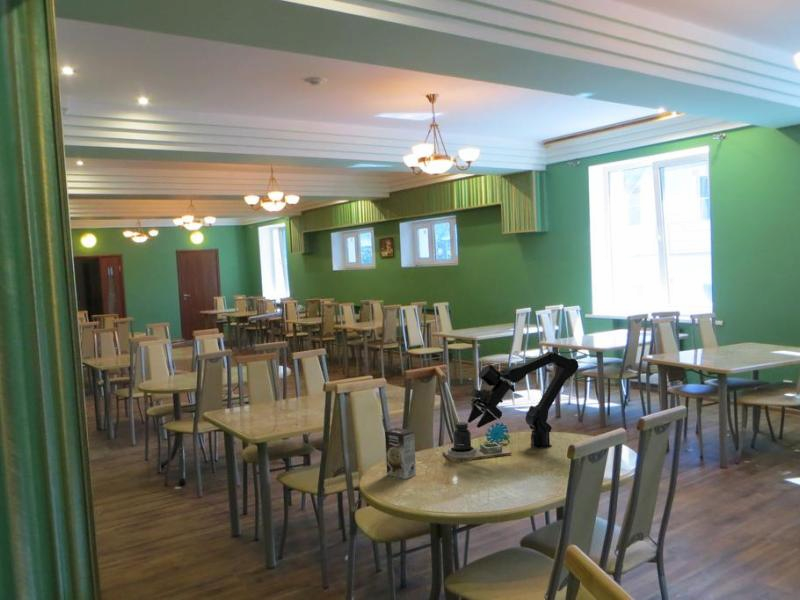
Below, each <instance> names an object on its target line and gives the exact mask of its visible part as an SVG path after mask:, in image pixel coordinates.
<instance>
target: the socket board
mask: <svg viewBox="0 0 800 600" xmlns="http://www.w3.org/2000/svg"><path fill="white" fill-rule="evenodd" d="M494 442H495V441H494ZM494 442H493V443H490V442H487V443H480V444H479V447H475V446H473V445H471V451H468V452H455V451H454V446H450V447H448V449H447V451H442V455H443V454H444V455H445V456H444V455H443V456H444V457H445V458H447V459H448V458H449V459H450V461H451V462H452V463H457V462H456V461H460V462H464V461H463V460H468V461H471V460H470V459H476V460H480V459H479V458H484V459H489V458H488V457H491V458H496V457H495V456H499V457H504V456H503V455H507V456H512V455H511V454H512V451H510V450H508V449H507V448H506V447H504V446H502V445H500V444H497V443H496V442H495V443H494ZM449 459H448V460H449Z"/></svg>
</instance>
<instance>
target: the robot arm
mask: <svg viewBox="0 0 800 600" xmlns="http://www.w3.org/2000/svg"><path fill="white" fill-rule="evenodd" d="M550 364H553V365H555V366H556V367H555V374H554V376H553V378H552V380H551V382H550V383H549V385H548V386H547V388H546V389H545V392H544V393H543V395H542V397H541V398H540V400H539V402H538V403H537V404H536V405H535V406H533V405H530V407H529V409H528V410H527V411H526V412H525V418H524V419H525V422H526V423H525V424H527V425H528V426H529V428H530V430H531V434H530V445H531V446H532V447H534V448H537V449H540V448H541V449H543V448H549V447H553V445H552V444H550V433H551V432H552V426H551V425H550V424H549V423H548V418H549V410H550V408H551V407H552V405H553V404H554V401H555V400H556V398H557V396H558V395H559V393H560V391H561V390H562V389H563V386H564V385H565V383H566V382H567V381H568V380H569V379H570V378H572V377H573V376H574V374H575V373H576V372H577V371H578V369H579V367H580V366H579V362H578V361H577V359H575V358H571V357H569V356H568V357H567V356H562V355H561V354H557V353H556V352H554V351H550V350H549V351H546V352H544V353H543V354H541V355H539V356H537V357H535V358H532V359H530V360H528V361H526V362H523V363H520V364H514V365H510V366H507V367H504V369H502V370H499V371H498V370H497V369H496V368H495V367H494V366H493V365H492V364H488V365H487V366H485V367H484V368H482V369H480V371H479V373H478V378H479V379H480V380H481V381H483V382H484V383H485V384H486V386H488V387H491V386H492V388H491V389H490V390H489V389H488V390H487V389H483V388H482V389H480V390H479V389H477V388H472V391H471V394H470V396H471V397H472V398H471V400H469V401H470V405H471V411H470V413H469V416H468V419H467V422H466V423H468V424H470V423H472V422H474V421H475V420H476V419H478V418H480V419H479V420H478V423H477V424H476V428H481V427H483V426H485V425H487V424H489V423H491V422H494V421H497V420H500V419H501V417H502V416H503V412H502V410H501V409H499V408H498V407H497V406H498V405H499V404H500V403H501V404H503V402H504V400H503V399H504V398H505V396H506V395H507V394H508V392H512V393H515V392H516V390H515V385H514V384H516V383H519V382H520V381H521V380H523V379H524V378H525V377H527V375H528V374H530V373H532V372H534V371H537V370H539V369H541V368H544V367H545V366H548V365H550ZM503 379H504V380H503ZM509 382H511V384H510V383H509ZM513 383H514V384H513Z"/></svg>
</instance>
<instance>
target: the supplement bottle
mask: <svg viewBox="0 0 800 600" xmlns="http://www.w3.org/2000/svg"><path fill="white" fill-rule="evenodd" d="M468 424H469V423H468V422H464V421H458V422H455V426H454V427H455V429H454V431H453V432H452V435H453V436H452V438H453V439H452V440H453V441H452V443H453V446H454V451H455V452H468V451H471V446H472V441H471V440H472V437H471V436H472V435H471V431H470V430H469V429H468V428H469V427H468V426H469V425H468ZM453 446H452V447H453Z"/></svg>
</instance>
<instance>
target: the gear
mask: <svg viewBox="0 0 800 600" xmlns="http://www.w3.org/2000/svg"><path fill="white" fill-rule="evenodd" d="M490 428H491V429H490ZM490 428H488V429H486V431H487V432H486V433H485V436H486V441H487V442H489V443H495V442H496V443H497V444H498V443H499V442H500V443H501V442H504V441H507V442H508V443H510V442H511V441H510V438H511V436H510V434H508V433H509V430H508V426H507V425H505V424H504V422H500V423H499V422H496V423H495V425H494V424H491V425H490Z"/></svg>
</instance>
